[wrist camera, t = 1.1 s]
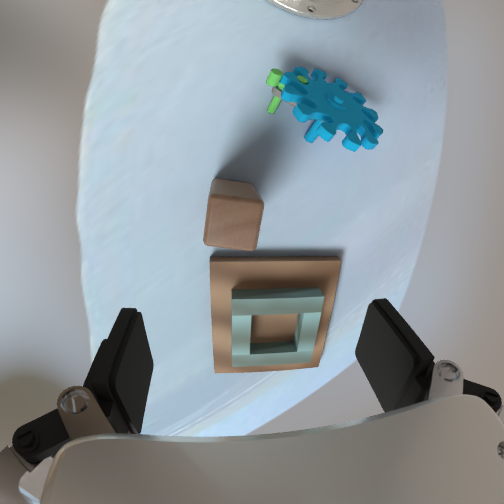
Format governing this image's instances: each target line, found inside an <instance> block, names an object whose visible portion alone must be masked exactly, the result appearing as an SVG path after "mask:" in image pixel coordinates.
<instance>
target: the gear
mask: <svg viewBox="0 0 504 504" xmlns="http://www.w3.org/2000/svg"><path fill="white" fill-rule="evenodd" d="M308 73H309V72H308V70H307V69H306V68H303V67H295V69H294V70H293V72H286V73H285V74H283V73H282V72H281V71H280V70H278V69H271V72H270V74H269V76H268V78H267V80H266V83H267V84H268V85H270V86H273V88H272V93H273V94H274V95H275V96H274V97H273V99H272V101H271V103H270V105H269V107H268V109H267V111H268V112H269V113H271V114H274V112H275V111H276V109H277V107H278V105H279V103H280V101H281V100H284V101H286V102H288V103H290V104H291V105H293V106H295V108H294V109H293V114H294V116H295V117H296V119H297V120H298V121H300V122H306V121H307V120H310V119H315V120H316V121H315V122H314V123H313V125H312V126H311V128H310V129H309V131H308V132H307V133H306V135H305V136H304V138H305V140H306V141H308V142H310V143H313V142H314V140H315V139H316V138H317V136H318V135H319V136H320V137H321V138H323V139H324V140H325V141H327V142H329V141H330V140H331V139H332V138H333V136H334V135H335V134H336V130H338V129H339V130H342V131H343V132H345V134H346V135H347V136H346V137H345V138H344V139H343V141H342V145H343V146H344V147H345V148H347V149H349V150H351V151H354V152H355V151H356V150H357V149H358V148H359V147H360V146H361V144H362V146H363V147H364V148H365V149H373V148H374V147H375V146H376V145H377V144H378V140H377V138H378V137H379V136H380V135H381V134H382V133H383V129H382V128H381V127H380V126H379V125H377V124H375V122H376V121H377V120H378V115H377V112H376V111H374V110H373V109H369V108H366V107H364V106H362V105H363V104H364V103H365V102H366V100H365V98H364V97H363V96H362V95H361V93H358V92H356V93H349V92H346V91H344V90H345V89H346V87H347V86H348V84H347V83H345V82H344V81H343V80H341V79H340V78H336V79H335V81H334V82H333V83H327V82H326V81H324V79H325V78H326V76H327V74H326V73H325V72H323V71H321V70H319V69H316V68H315V70H314V71H313V73H312V75H311V76H312V78H313V79H314V80H312V79H310V78H309V77H308ZM282 75H283V76H282ZM281 77H282V78H281ZM280 79H281V80H280ZM356 132H357V133H358V134H359V135H360V136H361V141H360V139H359V138H358V136H357V133H356Z"/></svg>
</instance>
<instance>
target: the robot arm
mask: <svg viewBox="0 0 504 504" xmlns="http://www.w3.org/2000/svg"><path fill="white" fill-rule="evenodd" d="M268 1H269V2H271V3H272V4H274V5H276V6H277V7H279V8H281V9H283V10H285V11H287V12H290V13H293V14H296V15H299V16H302V17H307V18H312V19H335V18H339V17H343V16H345V15H347V14H349V13H351V12H352V11H354V10H355V9H356V8H357V7H359V6H360V5H361V3H362V1H363V0H268ZM308 10H309V11H311V12H309V11H308ZM355 355H356V358H357V360H358V362H359V364H360V366H361V367H362V369H363V371H364V373H365V375H366V377H367V379H368V381H369V383H370V385H371V387H372V388H373V390H374V392H375V394H376V396H377V398H378V400H379V402H380V404H381V406H382V408H383V410H384V411H385V413H382V414H378V415H374V416H370V417H366V418H362V419H358V420H354V421H349V422H344V423H340V424H334V425H330V426H323V427H318V428H312V429H306V430H298V431H290V432H283V433H273V434H262V435H248V436H228V437H181V436H158V435H142V434H140V433H141V429H142V423H143V417H144V412H145V407H146V401H147V396H148V391H149V386H150V381H151V377H152V372H153V359H152V355H151V351H150V347H149V343H148V339H147V335H146V331H145V326H144V322H143V317H142V314H141V312H137V309H136V308H122V309H121V311H120V313H119V315H118V317H117V319H116V321H115V323H114V326H113V328H112V330H111V332H110V334H109V337H108V339H104V340H103V341H102V343H101V345H100V347H99V349H98V352H97V354H96V356H95V358H94V361H93V363H92V365H91V368H90V370H89V373H88V375H87V378H86V380H85V382H84V385H83V387H82V386H72V387H68V388H67V389H65V390H63V392H62V393H60V395H59V397H58V399H57V409H55V410H53V411H51V412H49V413H48V414H45V415H43V416H41V417H39V418H37V419H35V420H33V421H31V422H29V423H27V424H25V425H23V426H21V427H19V428H18V429H17V430H16V432H15V433H14V435H13V441H12V443H13V445H12V446H11V447H10V448H9V447H8V446H6V447H5V448H4V449H3V450H2V451H1V452H0V504H504V403H503V405H502V402H501V398H500V395H499V394H498V393H497V392H496V391H495V390H494V389H491V388H489V387H486V386H483V385H480V384H477V383H474V382H471V381H468V380H465V379H463V372H462V370H461V368H460V367H459V366H458V365H457V364H456V363H454V362H452V361H449V360H440V361H438V362H437V363H436V364H435V363H434V362H433V360H434V356H433V355H432V353H431V352H430V351H429V350H428V348H427V347H426V346H425V345H424V343H423V342H422V341H421V340H420V338H419V337H418V336H417V335H416V333H415V332H414V331H413V330H412V329H411V327H410V326H409V325H408V323H407V322H406V321H405V320H404V319H403V317H402V316H401V315H400V314H399V313H398V311H397V310H396V309H395V308H394V307H393V306H392V304H391V303H390V302H389V301H388V300H387V299H385V298H384V299H375V300H373V301H372V303H370V304H369V306H368V309H367V313H366V316H365V320H364V323H363V327H362V330H361V334H360V337H359V340H358V344H357V347H356V350H355Z"/></svg>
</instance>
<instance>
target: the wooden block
mask: <svg viewBox="0 0 504 504" xmlns="http://www.w3.org/2000/svg"><path fill="white" fill-rule="evenodd" d="M263 209H264V202H263V200H262V199H261V197H260V195H259V194H258V192H257V191H256V189H255V187H254V186H253V185H252V184H251V183H246V182H239V181H232V180H224V179H213V181H212V184H211V188H210V193H209V198H208V205H207V213H206V221H205V229H204V238H203V241H204V244H205V245H207V246H213V247H222V248H230V249H239V250H247V251H253V250H255V248H256V247H257V241H258V236H259V231H260V225H261V220H262V215H263Z"/></svg>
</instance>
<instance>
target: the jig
mask: <svg viewBox="0 0 504 504" xmlns="http://www.w3.org/2000/svg"><path fill="white" fill-rule="evenodd" d="M340 267H341V259H340V258H339V257H338V256H294V257H210V290H211V316H212V337H213V355H214V371H215V373H244V372H265V371H280V370H292V369H303V368H313V367H318V366H319V363H320V359H321V355H322V351H323V347H324V343H325V339H326V334H327V330H328V326H329V321H330V317H331V312H332V308H333V303H334V298H335V293H336V288H337V283H338V278H339V272H340Z"/></svg>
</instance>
